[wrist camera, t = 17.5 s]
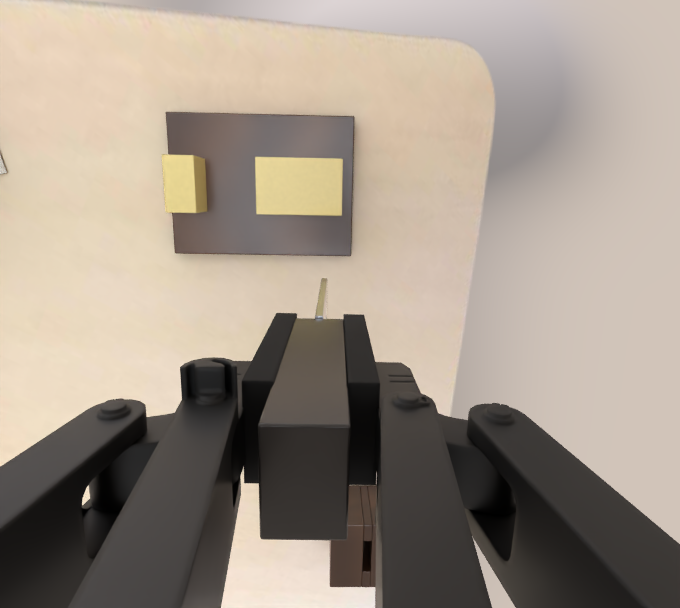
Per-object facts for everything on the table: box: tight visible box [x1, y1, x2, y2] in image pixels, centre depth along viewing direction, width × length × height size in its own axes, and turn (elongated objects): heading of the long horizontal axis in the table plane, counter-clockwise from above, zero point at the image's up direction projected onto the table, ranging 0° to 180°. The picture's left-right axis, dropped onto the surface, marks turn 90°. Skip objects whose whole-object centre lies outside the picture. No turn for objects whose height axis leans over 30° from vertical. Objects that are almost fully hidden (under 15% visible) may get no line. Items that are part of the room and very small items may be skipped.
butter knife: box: [258, 278, 351, 540], centre depth 17 cm, size 2×3×16 cm, turn 179°
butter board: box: [166, 112, 354, 256], centre depth 41 cm, size 16×12×1 cm
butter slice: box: [162, 155, 207, 213], centre depth 38 cm, size 2×4×4 cm, turn 179°
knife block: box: [330, 486, 377, 587], centre depth 46 cm, size 7×7×6 cm
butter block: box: [255, 157, 343, 216], centre depth 38 cm, size 7×4×4 cm, turn 89°
